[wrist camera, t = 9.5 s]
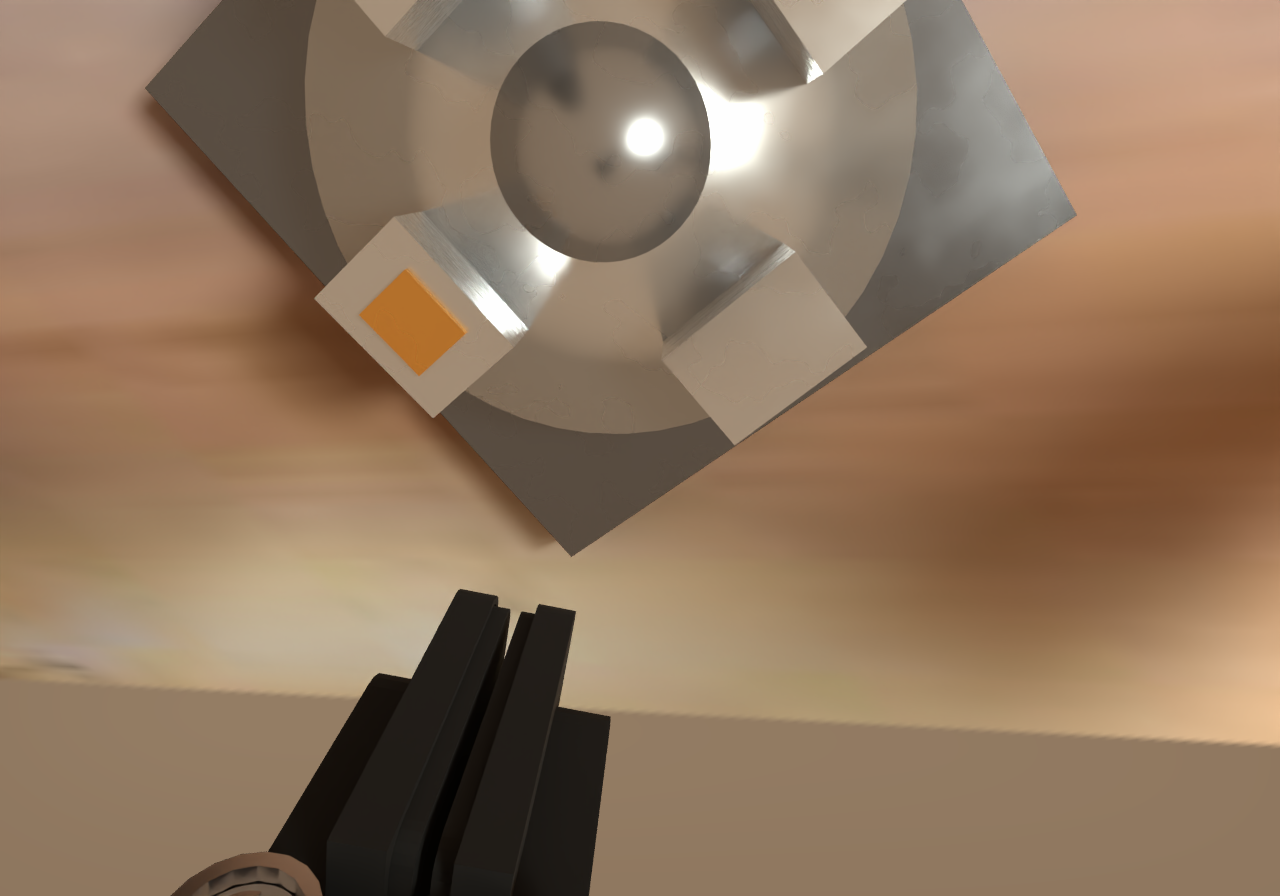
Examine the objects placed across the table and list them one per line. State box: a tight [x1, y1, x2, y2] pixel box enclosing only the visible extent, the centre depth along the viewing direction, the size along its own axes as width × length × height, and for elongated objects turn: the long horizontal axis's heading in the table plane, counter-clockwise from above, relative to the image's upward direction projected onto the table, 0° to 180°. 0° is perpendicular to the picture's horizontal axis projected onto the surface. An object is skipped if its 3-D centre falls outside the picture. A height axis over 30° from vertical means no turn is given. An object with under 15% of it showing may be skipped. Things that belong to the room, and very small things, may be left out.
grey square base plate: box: [145, 0, 1076, 557], centre depth 24 cm, size 22×22×2 cm
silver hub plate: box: [305, 0, 917, 445], centre depth 21 cm, size 18×18×5 cm
